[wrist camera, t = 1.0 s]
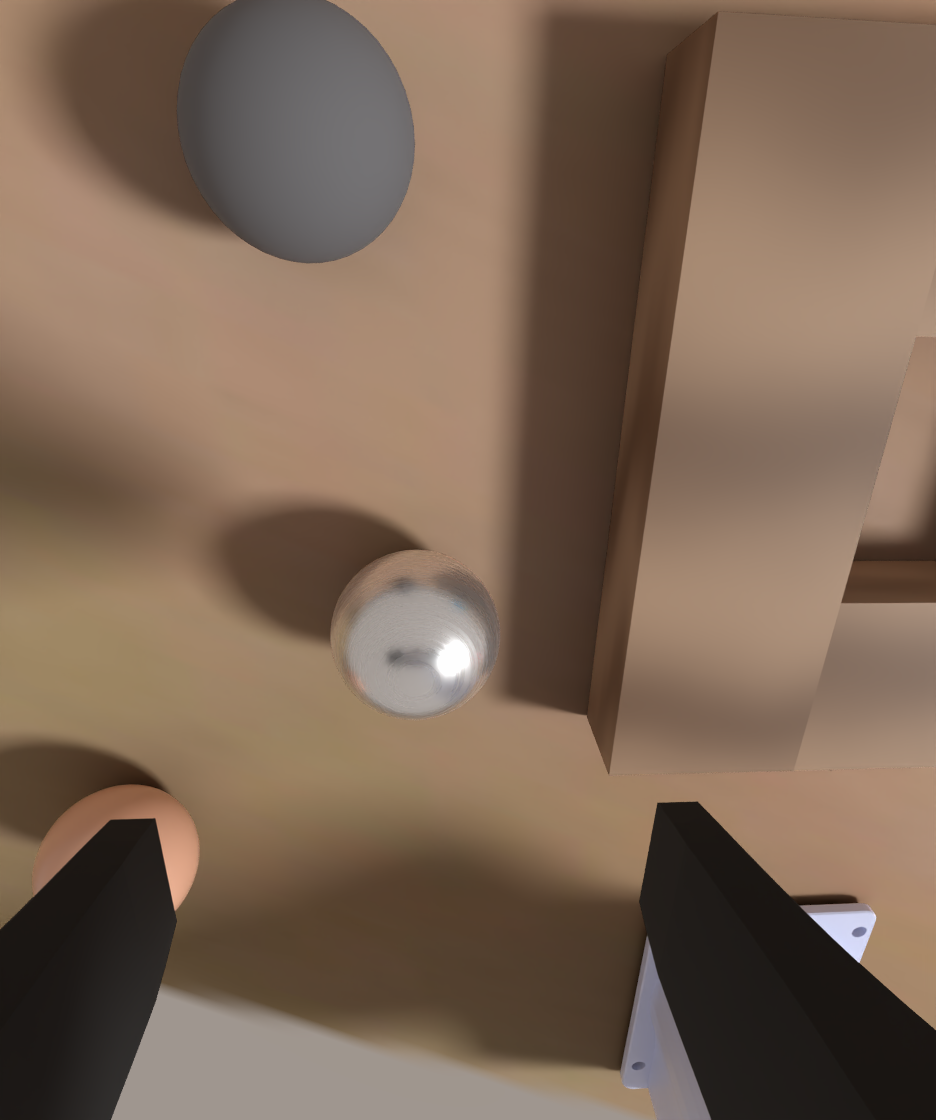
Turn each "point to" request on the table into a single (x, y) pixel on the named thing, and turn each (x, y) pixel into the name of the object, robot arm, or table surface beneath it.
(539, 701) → the table surface
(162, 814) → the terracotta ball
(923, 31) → the wooden square frame
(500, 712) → the table surface
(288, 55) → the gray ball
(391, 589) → the steel ball
